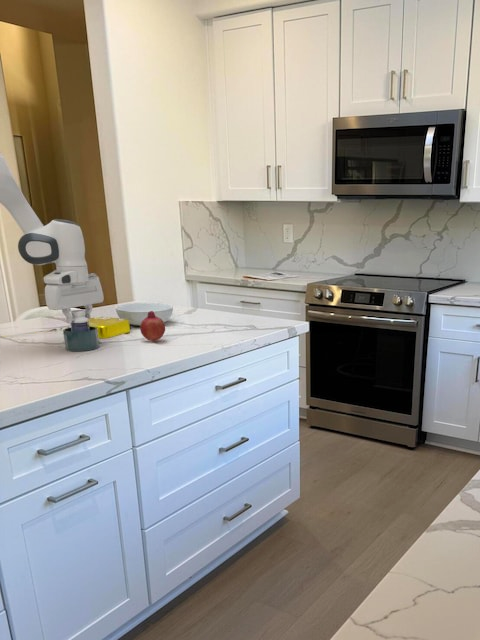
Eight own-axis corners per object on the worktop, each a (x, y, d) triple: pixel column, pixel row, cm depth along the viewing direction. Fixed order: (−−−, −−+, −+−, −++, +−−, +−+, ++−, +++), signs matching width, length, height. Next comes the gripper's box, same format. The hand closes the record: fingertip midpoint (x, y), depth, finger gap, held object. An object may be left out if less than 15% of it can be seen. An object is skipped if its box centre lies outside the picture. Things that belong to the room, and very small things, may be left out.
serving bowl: (154, 332, 220) (152, 313, 217) (105, 327, 226) (103, 309, 224) (184, 321, 238) (183, 304, 236) (139, 317, 245) (137, 300, 242)
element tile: (69, 335, 210) (67, 322, 208) (99, 327, 223) (97, 314, 221) (104, 339, 205) (102, 325, 203) (132, 331, 218) (131, 318, 216)
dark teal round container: (74, 352, 186) (71, 333, 184) (60, 347, 193) (57, 328, 191) (104, 347, 193) (102, 329, 191) (90, 343, 200) (88, 325, 198)
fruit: (165, 343, 201) (162, 313, 197) (140, 344, 200) (137, 313, 196) (167, 338, 208) (164, 308, 205) (142, 338, 207) (139, 309, 203)
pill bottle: (93, 342, 192) (89, 311, 188) (75, 344, 189) (71, 312, 185) (88, 339, 196) (84, 308, 192) (71, 341, 193) (66, 310, 190)
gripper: (90, 272, 195) (95, 315, 200) (38, 278, 178) (45, 325, 183) (105, 273, 193) (110, 316, 198) (54, 279, 175) (61, 326, 180)
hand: (79, 320), depth 190 cm, fingers closed on pill bottle, 5 cm apart
